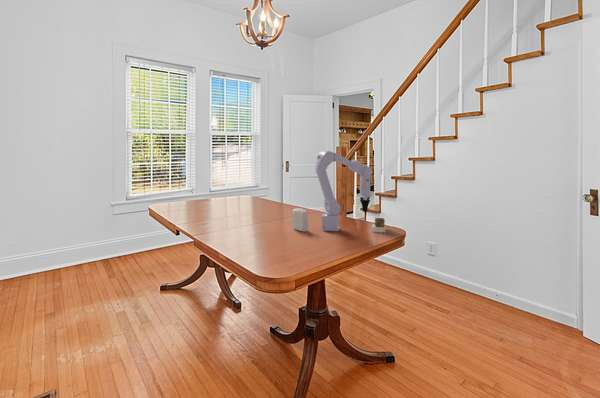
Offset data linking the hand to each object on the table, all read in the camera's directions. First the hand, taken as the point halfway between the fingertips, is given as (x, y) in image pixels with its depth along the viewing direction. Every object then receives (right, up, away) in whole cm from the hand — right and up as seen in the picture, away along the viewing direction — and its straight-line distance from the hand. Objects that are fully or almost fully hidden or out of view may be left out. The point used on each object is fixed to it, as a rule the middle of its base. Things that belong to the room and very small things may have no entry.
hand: (364, 210), depth 188 cm
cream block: (+6, -11, -8) cm, 15 cm away
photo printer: (-37, -11, -4) cm, 39 cm away
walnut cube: (+6, -8, -9) cm, 14 cm away
